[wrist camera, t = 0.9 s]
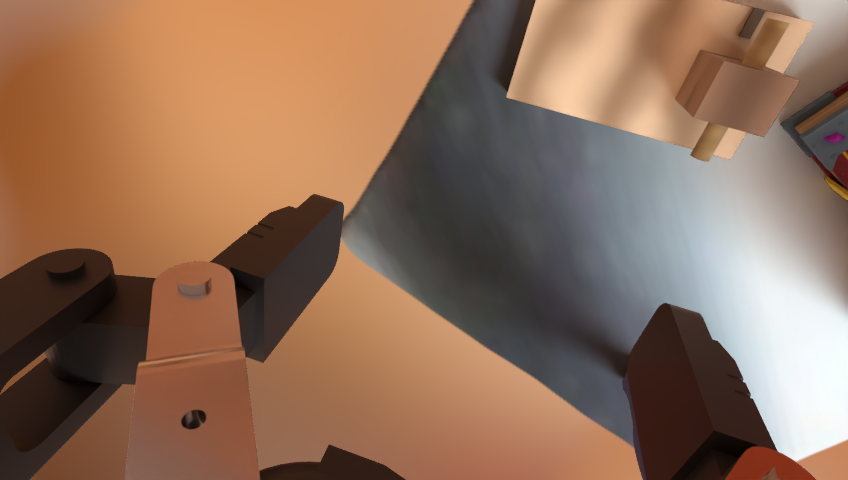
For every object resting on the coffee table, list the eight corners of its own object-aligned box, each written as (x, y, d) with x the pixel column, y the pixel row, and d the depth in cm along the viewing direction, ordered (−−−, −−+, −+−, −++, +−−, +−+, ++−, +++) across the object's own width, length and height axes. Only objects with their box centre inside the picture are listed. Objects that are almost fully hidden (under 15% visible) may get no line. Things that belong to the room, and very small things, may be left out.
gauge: (789, 24, 34) (830, 32, 29) (715, 149, 39) (739, 174, 34) (721, 8, 34) (750, 13, 29) (657, 133, 40) (672, 156, 35)
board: (801, 20, 35) (816, 22, 33) (722, 152, 41) (731, 160, 39) (549, -42, 37) (548, -43, 35) (508, 92, 43) (505, 98, 41)
